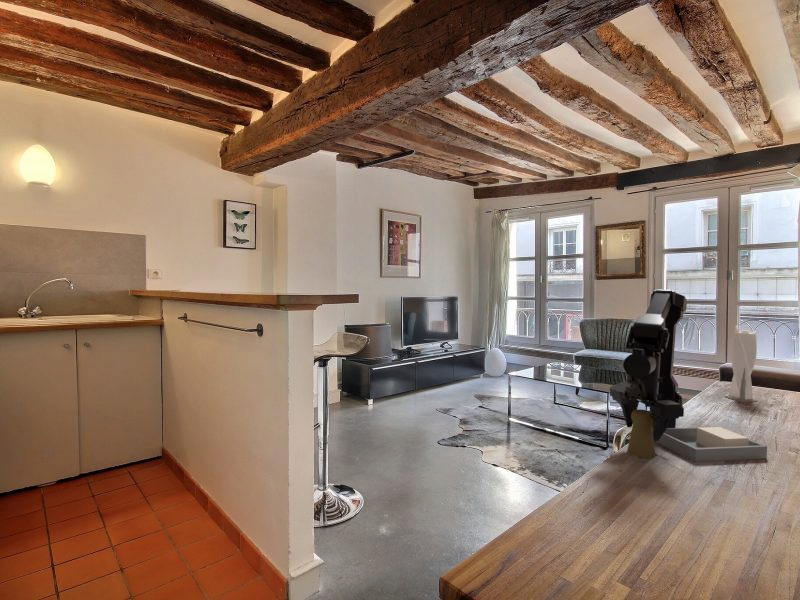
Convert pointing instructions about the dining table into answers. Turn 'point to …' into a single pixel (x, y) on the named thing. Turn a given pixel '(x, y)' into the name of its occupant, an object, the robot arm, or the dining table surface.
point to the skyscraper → (743, 365)
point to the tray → (687, 447)
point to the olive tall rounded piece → (641, 435)
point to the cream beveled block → (719, 437)
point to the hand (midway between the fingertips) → (642, 433)
